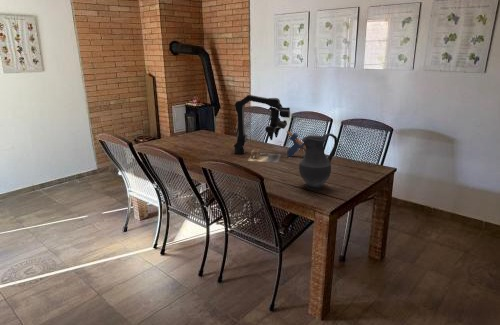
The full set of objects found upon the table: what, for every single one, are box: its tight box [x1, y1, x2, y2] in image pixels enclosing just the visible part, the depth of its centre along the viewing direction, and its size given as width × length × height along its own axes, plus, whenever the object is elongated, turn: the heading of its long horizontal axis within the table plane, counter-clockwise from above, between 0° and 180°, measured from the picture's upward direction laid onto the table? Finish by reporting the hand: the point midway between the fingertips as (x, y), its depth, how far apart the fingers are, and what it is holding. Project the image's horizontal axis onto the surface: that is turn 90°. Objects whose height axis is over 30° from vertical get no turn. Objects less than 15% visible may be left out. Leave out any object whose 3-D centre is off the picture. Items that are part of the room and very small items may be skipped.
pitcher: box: [298, 132, 339, 191], centre depth 187 cm, size 17×21×30 cm
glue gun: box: [286, 130, 306, 158], centre depth 246 cm, size 6×31×15 cm
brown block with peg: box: [250, 148, 260, 159], centre depth 239 cm, size 4×10×5 cm, turn 168°
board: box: [247, 152, 281, 164], centre depth 239 cm, size 21×14×4 cm, turn 78°
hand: (273, 138), depth 242 cm, fingers open, 9 cm apart
